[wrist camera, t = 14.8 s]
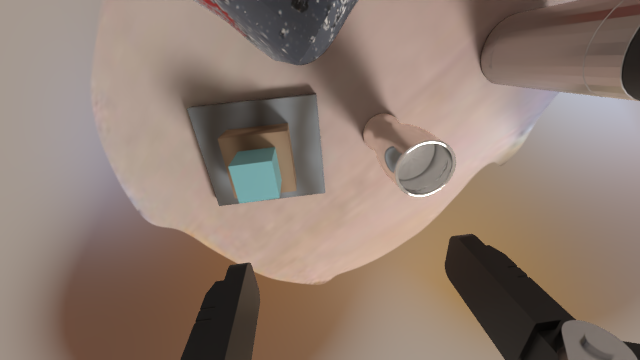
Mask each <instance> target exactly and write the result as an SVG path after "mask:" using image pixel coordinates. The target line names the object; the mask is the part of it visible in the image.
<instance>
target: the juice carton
mask: <svg viewBox="0 0 640 360" xmlns="http://www.w3.org/2000/svg"><path fill="white" fill-rule="evenodd" d="M194 1H195V2H197V3H198V4H200V5H201V6H203V7H204V8H206V9H207V10H209V11H211V12H212V13H214V14H215V15H217V16H219V17H220V18H222V19H223V20H225V21H226V22H228V23H229V24H230V25H231V26H232V27H234V28H235V29H236V30H237V31H238V32H240V33H241V34H242V35H243V36H244V37H245V38H246V39H247V40H249V41H250V42H251V43H252V44H253V45H255V46H256V47H257V48H258V49H260V50H261V51H262V52H264V53H265V54H266V55H268V56H269V57H271V58H272V59H274V60H276V61H282V62H286V63H290V64H294V65H304V64H308V63H310V62H312V61H314V60H316V59H317V58H318V57H319V56H321V55H322V54H323V53H324V52H325V50H326V49H327V48H328V47H329V46H330V44H331V43H332V42H333V40H334V39H335V37H336V35H337V34H338V32H339V30H340V29H341V27H342V26H343V24H344V22H345V20H346V19H347V17H348V15H349V14H350V12H351V10H352V9H353V7H354V6H355V4H356V3H357V1H358V0H194Z"/></svg>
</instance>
